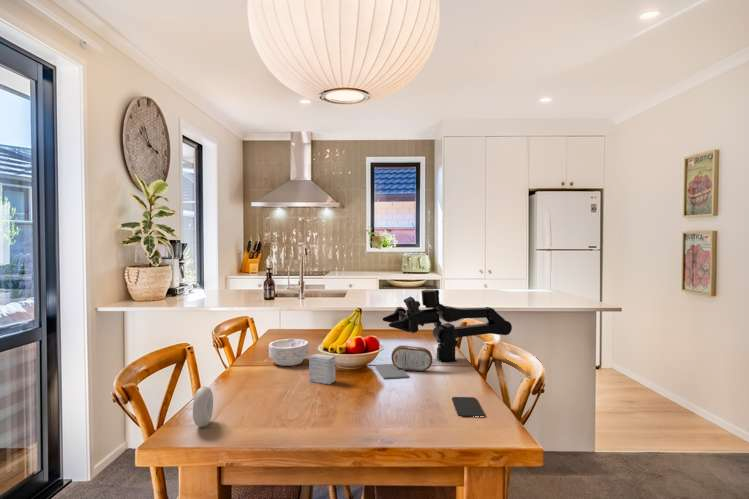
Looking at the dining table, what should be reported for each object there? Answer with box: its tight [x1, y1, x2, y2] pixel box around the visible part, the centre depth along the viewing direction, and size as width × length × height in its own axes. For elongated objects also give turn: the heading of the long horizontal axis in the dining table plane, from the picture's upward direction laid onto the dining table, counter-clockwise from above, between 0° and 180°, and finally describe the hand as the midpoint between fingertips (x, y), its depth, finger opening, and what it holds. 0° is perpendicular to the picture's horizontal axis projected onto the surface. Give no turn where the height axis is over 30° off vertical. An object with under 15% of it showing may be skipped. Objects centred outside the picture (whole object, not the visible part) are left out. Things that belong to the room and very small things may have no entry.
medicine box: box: [308, 353, 336, 385], centre depth 155 cm, size 8×4×9 cm, turn 65°
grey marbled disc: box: [192, 385, 214, 428], centre depth 118 cm, size 10×4×10 cm, turn 6°
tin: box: [391, 345, 433, 372], centre depth 168 cm, size 15×3×8 cm, turn 85°
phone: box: [451, 396, 485, 418], centre depth 132 cm, size 7×1×15 cm
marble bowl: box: [268, 338, 310, 367], centre depth 177 cm, size 15×15×8 cm
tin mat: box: [374, 363, 410, 380], centre depth 166 cm, size 9×16×1 cm, turn 11°
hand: (385, 322), depth 177 cm, fingers open, 9 cm apart
